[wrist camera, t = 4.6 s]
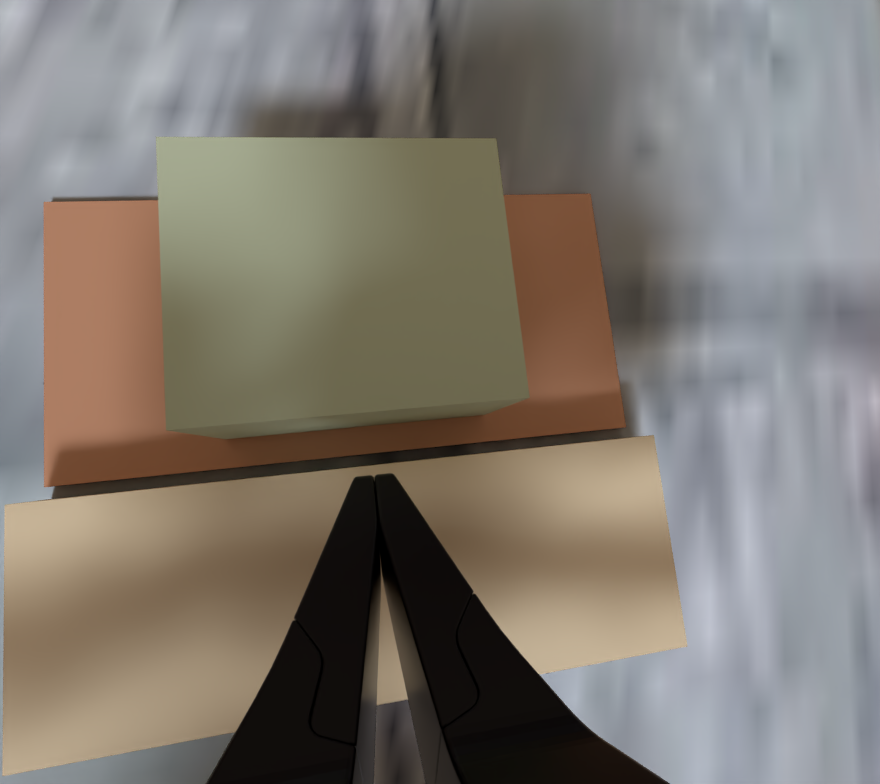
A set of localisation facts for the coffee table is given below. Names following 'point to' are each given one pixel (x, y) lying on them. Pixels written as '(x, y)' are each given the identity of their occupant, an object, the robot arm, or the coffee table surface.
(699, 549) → the coffee table surface
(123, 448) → the rubber mat
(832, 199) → the coffee table surface
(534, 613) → the birch board
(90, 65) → the coffee table surface
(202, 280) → the green block
